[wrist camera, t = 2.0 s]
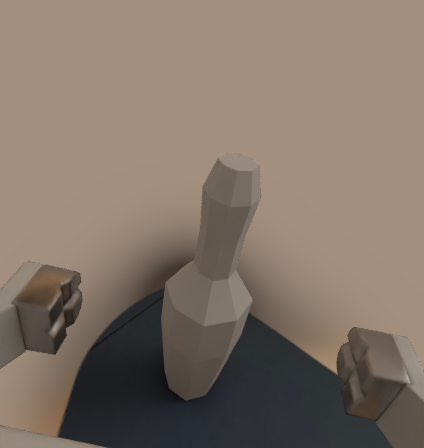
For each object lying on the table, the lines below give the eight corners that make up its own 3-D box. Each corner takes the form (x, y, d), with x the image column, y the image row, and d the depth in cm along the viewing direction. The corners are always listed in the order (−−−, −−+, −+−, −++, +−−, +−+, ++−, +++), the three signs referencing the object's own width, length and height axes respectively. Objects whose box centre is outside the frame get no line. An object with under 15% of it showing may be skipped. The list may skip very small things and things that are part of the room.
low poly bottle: (181, 424, 29) (234, 200, 17) (142, 365, 33) (162, 146, 20) (237, 384, 33) (314, 177, 20) (196, 335, 36) (241, 134, 24)
